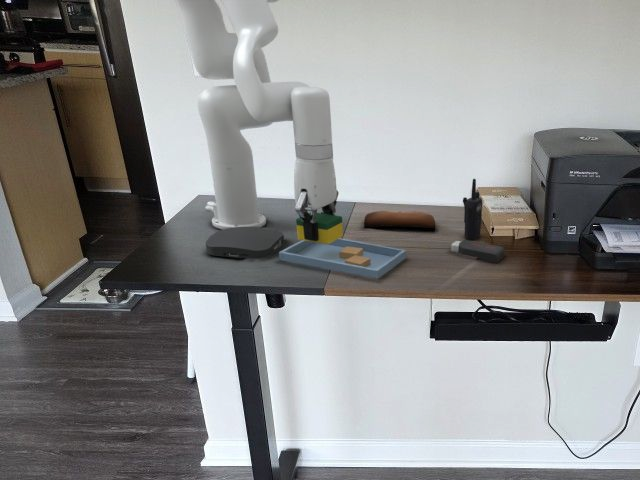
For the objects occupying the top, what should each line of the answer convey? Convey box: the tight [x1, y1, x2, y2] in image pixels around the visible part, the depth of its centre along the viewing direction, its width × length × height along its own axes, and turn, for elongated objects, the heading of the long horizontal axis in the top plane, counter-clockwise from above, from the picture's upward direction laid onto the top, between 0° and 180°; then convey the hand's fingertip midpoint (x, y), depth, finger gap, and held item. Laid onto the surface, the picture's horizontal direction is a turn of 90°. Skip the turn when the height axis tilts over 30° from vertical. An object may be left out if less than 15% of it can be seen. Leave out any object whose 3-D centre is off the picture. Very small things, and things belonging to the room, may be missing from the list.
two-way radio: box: [462, 178, 483, 241], centre depth 167 cm, size 6×4×15 cm
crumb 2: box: [345, 255, 371, 267], centre depth 147 cm, size 4×4×1 cm
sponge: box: [295, 212, 344, 244], centre depth 148 cm, size 8×6×4 cm
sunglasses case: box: [363, 210, 436, 231], centre depth 173 cm, size 18×7×7 cm
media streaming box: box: [205, 226, 285, 259], centre depth 152 cm, size 15×15×3 cm
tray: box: [278, 237, 407, 280], centre depth 150 cm, size 23×14×2 cm, turn 73°
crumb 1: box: [339, 246, 363, 259], centre depth 151 cm, size 4×4×1 cm
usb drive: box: [450, 238, 506, 264], centre depth 159 cm, size 5×12×3 cm, turn 70°
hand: (320, 234), depth 149 cm, fingers closed on sponge, 6 cm apart
